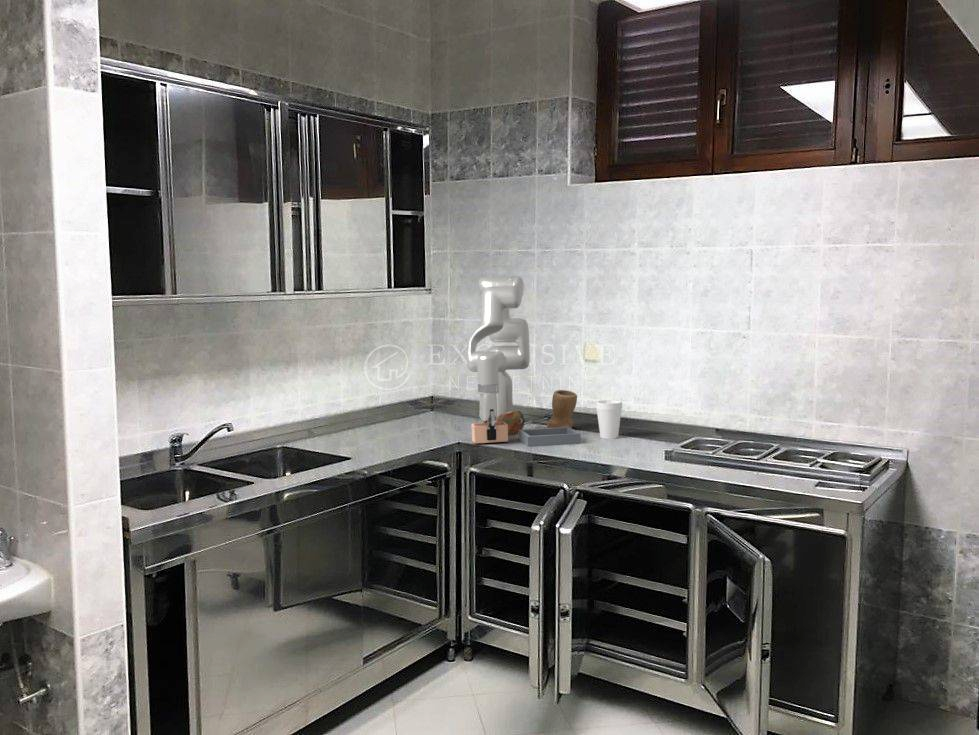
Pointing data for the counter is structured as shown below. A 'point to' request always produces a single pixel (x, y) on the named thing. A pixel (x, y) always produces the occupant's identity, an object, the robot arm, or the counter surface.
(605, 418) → the foam cup
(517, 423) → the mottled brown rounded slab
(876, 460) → the counter surface
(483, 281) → the robot arm
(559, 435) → the grey tray
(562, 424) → the brown boot
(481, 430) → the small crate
